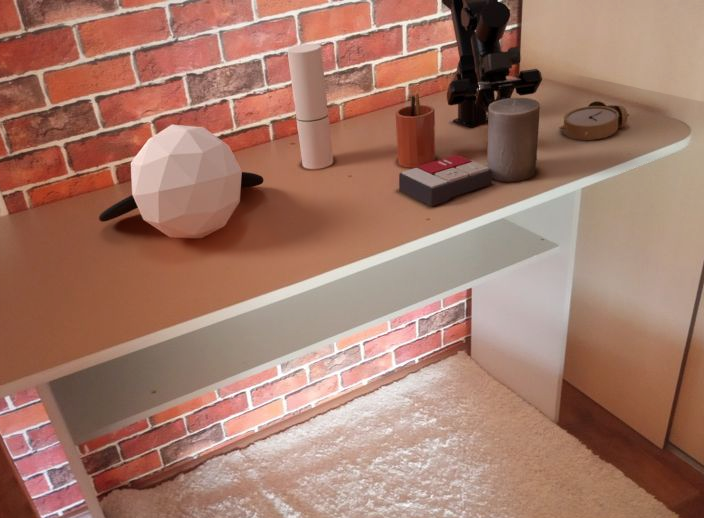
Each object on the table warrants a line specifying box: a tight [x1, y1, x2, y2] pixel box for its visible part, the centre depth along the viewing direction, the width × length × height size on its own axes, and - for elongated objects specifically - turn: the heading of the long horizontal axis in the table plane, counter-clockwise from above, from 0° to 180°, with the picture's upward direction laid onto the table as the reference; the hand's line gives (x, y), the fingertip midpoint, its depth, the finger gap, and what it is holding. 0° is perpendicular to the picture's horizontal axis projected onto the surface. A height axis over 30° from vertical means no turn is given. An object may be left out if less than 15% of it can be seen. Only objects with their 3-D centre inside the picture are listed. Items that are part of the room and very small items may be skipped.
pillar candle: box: [486, 97, 541, 183], centre depth 140 cm, size 10×10×15 cm
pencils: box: [410, 91, 421, 116], centre depth 151 cm, size 3×3×14 cm
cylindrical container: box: [286, 43, 334, 170], centre depth 154 cm, size 7×7×25 cm
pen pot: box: [395, 104, 436, 169], centre depth 152 cm, size 8×8×11 cm
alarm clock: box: [558, 100, 630, 141], centre depth 156 cm, size 11×5×15 cm
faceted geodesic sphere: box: [98, 124, 265, 239], centre depth 138 cm, size 35×30×22 cm
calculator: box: [398, 154, 493, 207], centre depth 141 cm, size 11×4×15 cm
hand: (499, 124), depth 146 cm, fingers closed
